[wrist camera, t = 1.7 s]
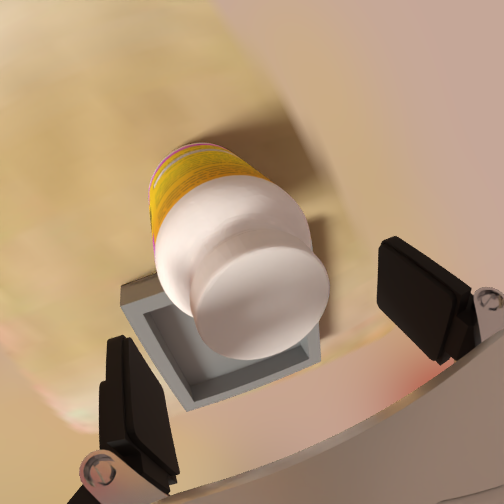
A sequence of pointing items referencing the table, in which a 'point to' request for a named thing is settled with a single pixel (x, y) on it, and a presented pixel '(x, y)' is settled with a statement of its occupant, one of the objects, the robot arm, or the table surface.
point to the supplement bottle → (234, 253)
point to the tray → (202, 350)
